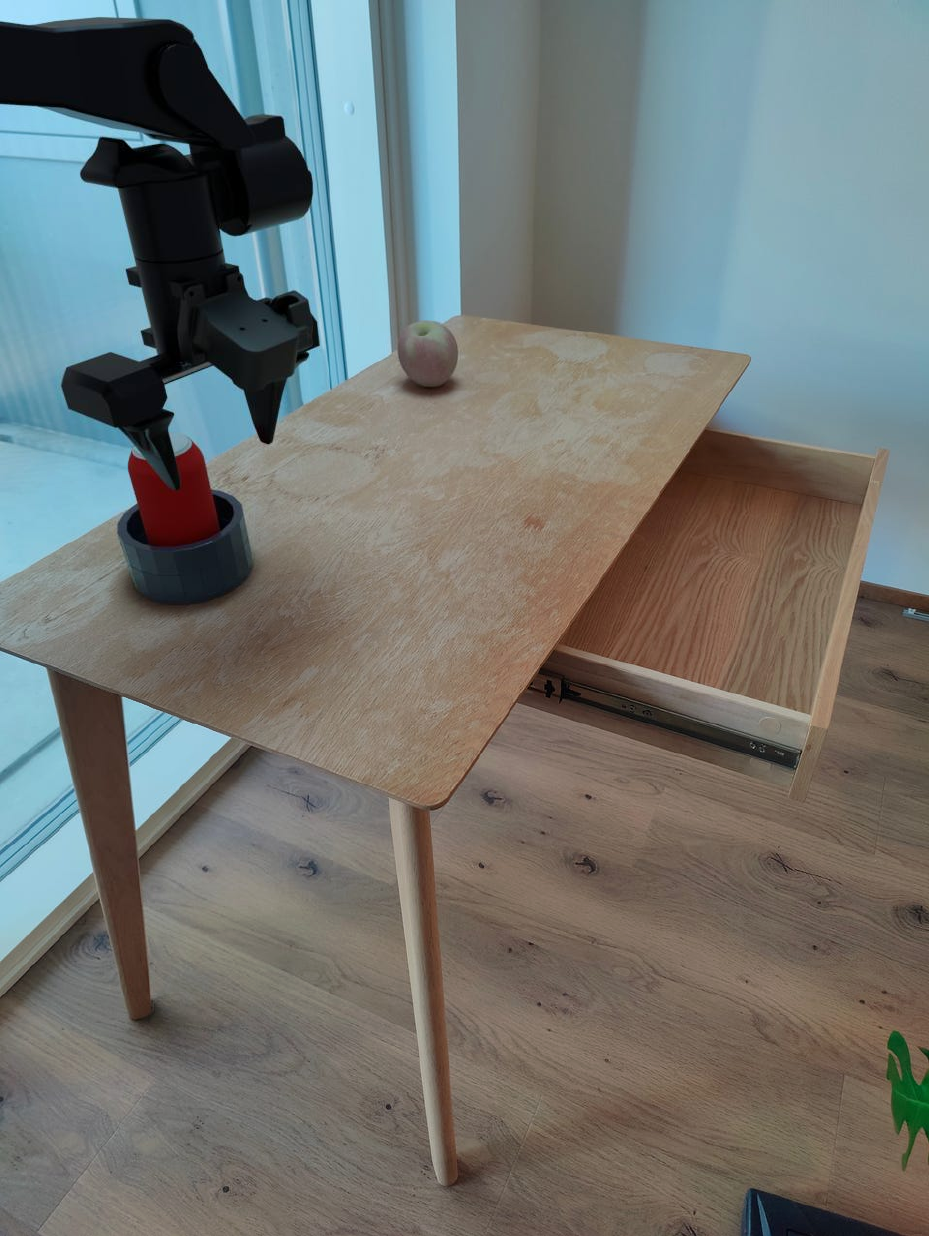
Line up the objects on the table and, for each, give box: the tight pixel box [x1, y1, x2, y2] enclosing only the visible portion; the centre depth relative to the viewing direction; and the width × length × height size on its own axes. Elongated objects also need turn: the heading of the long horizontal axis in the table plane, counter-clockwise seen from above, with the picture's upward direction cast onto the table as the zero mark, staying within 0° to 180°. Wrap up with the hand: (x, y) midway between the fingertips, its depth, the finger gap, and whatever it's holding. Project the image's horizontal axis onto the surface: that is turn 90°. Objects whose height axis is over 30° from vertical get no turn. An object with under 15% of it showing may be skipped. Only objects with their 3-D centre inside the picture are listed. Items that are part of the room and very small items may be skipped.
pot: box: [116, 488, 254, 605], centre depth 74 cm, size 11×11×6 cm
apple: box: [397, 319, 459, 388], centre depth 107 cm, size 8×8×8 cm
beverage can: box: [127, 432, 220, 547], centre depth 72 cm, size 6×6×12 cm
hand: (222, 464), depth 65 cm, fingers open, 9 cm apart
